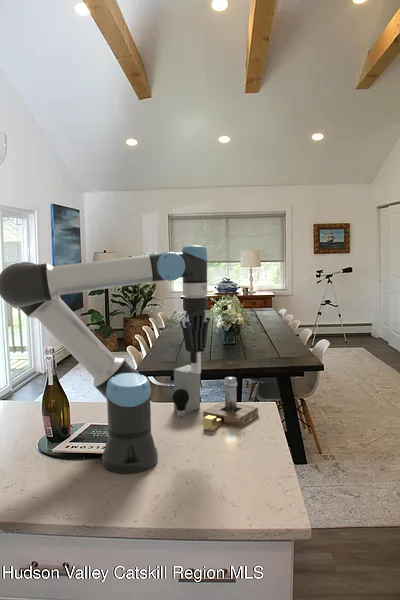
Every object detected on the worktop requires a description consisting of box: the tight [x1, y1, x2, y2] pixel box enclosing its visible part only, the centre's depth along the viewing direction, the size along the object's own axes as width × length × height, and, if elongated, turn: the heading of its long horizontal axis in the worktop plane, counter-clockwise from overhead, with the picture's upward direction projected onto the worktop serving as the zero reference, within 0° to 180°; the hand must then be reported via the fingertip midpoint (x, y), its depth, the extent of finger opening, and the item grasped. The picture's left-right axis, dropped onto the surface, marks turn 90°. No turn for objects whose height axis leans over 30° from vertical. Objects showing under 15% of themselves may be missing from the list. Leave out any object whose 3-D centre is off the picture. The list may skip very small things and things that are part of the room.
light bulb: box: [171, 389, 189, 418], centre depth 167 cm, size 6×6×10 cm
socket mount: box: [202, 400, 259, 428], centre depth 166 cm, size 14×14×3 cm
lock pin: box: [203, 415, 224, 432], centre depth 159 cm, size 12×3×4 cm, turn 146°
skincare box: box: [173, 364, 201, 414], centre depth 175 cm, size 8×7×16 cm
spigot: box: [223, 376, 238, 413], centre depth 166 cm, size 5×5×14 cm
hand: (196, 372), depth 147 cm, fingers closed
